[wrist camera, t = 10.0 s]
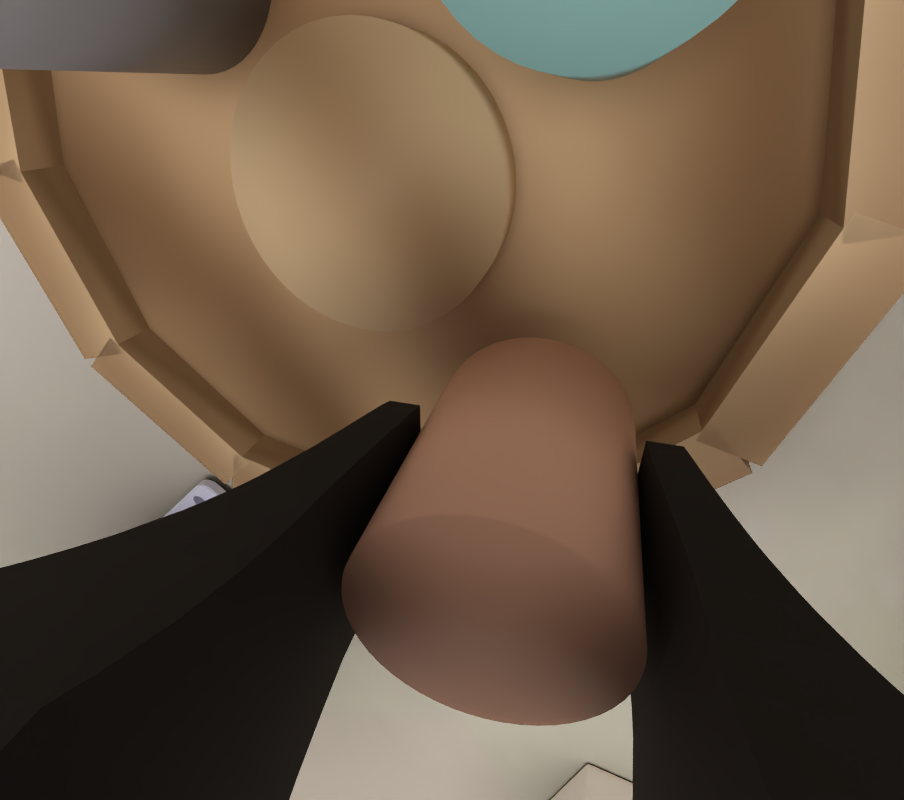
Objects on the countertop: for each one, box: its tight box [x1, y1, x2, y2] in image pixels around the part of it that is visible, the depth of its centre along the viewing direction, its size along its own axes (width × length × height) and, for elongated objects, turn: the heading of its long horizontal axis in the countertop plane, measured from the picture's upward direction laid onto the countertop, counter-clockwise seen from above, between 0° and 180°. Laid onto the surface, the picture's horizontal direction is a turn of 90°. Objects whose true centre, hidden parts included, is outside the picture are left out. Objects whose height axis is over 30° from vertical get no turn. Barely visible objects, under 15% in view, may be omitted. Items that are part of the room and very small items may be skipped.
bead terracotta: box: [341, 338, 647, 726], centre depth 9 cm, size 4×4×5 cm
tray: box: [0, 0, 904, 489], centre depth 12 cm, size 20×20×2 cm
